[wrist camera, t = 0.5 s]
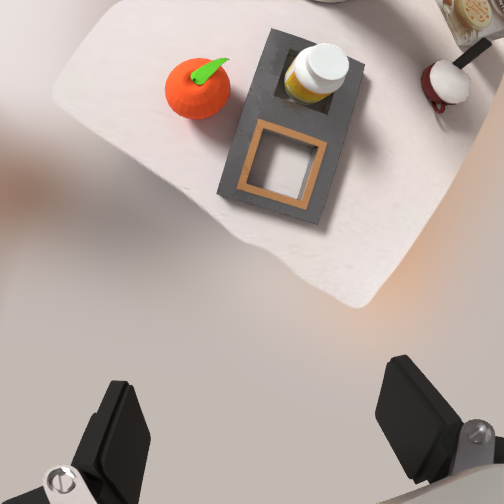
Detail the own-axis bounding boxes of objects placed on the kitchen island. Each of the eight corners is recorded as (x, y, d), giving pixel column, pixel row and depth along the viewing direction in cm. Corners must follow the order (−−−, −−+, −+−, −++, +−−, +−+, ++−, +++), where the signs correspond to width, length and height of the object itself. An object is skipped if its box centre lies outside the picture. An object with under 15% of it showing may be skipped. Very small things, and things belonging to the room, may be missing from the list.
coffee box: (433, -1, 30) (493, -37, 14) (456, 1, 30) (515, -29, 14) (457, 47, 32) (526, 23, 17) (479, 46, 32) (544, 27, 17)
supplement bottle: (283, 62, 32) (301, 31, 23) (326, 68, 33) (355, 42, 23) (281, 103, 34) (300, 81, 24) (325, 108, 34) (356, 91, 25)
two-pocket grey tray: (269, 34, 31) (271, 27, 29) (358, 68, 33) (366, 63, 31) (216, 192, 36) (216, 194, 34) (313, 221, 38) (318, 225, 35)
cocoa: (432, 120, 36) (491, 119, 24) (403, 89, 34) (460, 76, 23) (457, 80, 34) (512, 71, 22) (431, 49, 32) (484, 32, 21)
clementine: (208, 53, 31) (205, 29, 24) (249, 90, 33) (254, 72, 26) (158, 97, 32) (144, 82, 25) (198, 136, 34) (192, 127, 27)
